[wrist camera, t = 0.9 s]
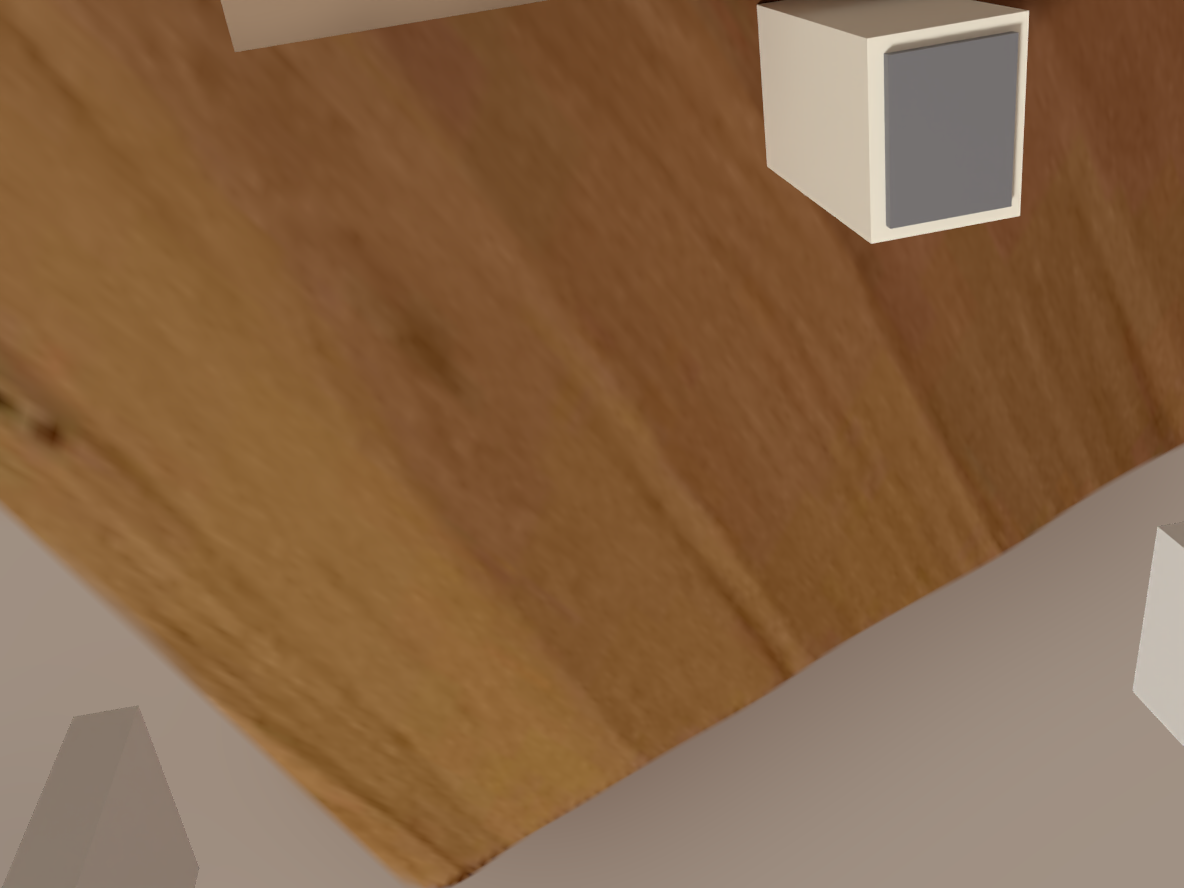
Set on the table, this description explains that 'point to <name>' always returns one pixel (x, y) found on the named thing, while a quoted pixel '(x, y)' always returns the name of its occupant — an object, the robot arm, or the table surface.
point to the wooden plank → (334, 17)
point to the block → (897, 109)
